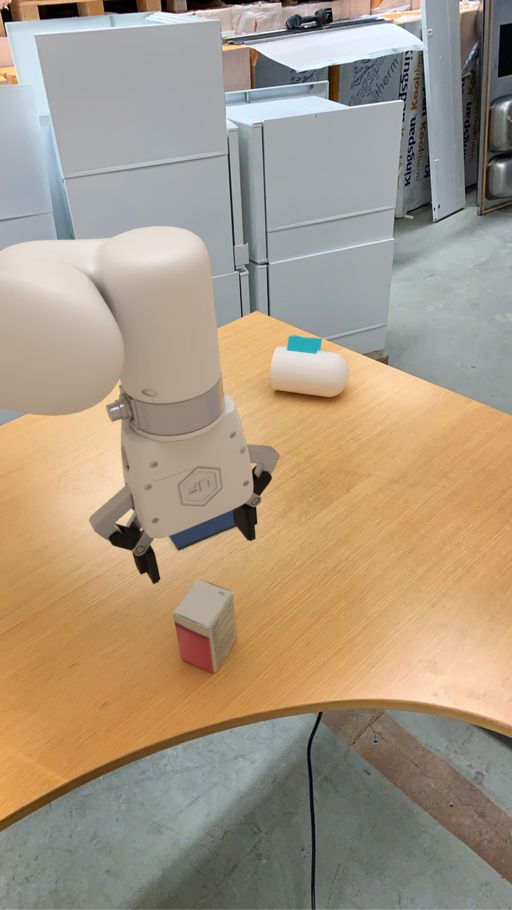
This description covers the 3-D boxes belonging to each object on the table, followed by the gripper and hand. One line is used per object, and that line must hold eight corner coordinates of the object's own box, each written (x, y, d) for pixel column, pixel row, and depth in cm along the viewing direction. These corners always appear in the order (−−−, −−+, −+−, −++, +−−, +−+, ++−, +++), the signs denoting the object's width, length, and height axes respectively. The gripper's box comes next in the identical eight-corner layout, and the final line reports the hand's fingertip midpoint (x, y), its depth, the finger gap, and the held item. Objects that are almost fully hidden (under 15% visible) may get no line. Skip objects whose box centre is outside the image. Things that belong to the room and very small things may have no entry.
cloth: (178, 550, 81) (178, 547, 81) (132, 479, 92) (132, 477, 92) (249, 520, 85) (249, 518, 84) (196, 456, 96) (196, 453, 96)
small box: (204, 624, 72) (197, 576, 67) (238, 638, 70) (234, 590, 65) (179, 660, 68) (170, 612, 64) (215, 676, 67) (208, 627, 62)
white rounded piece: (348, 344, 100) (273, 335, 103) (341, 402, 102) (268, 392, 105) (360, 338, 111) (291, 331, 114) (353, 391, 113) (286, 383, 116)
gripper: (80, 462, 44) (125, 620, 55) (296, 384, 50) (299, 540, 61) (50, 410, 50) (97, 563, 60) (249, 345, 56) (260, 495, 66)
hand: (199, 551), depth 61 cm, fingers open, 9 cm apart
